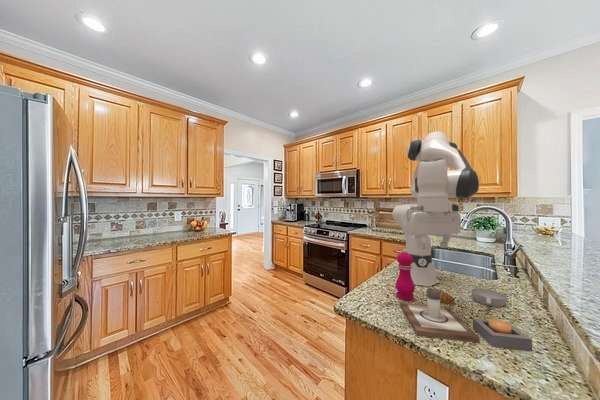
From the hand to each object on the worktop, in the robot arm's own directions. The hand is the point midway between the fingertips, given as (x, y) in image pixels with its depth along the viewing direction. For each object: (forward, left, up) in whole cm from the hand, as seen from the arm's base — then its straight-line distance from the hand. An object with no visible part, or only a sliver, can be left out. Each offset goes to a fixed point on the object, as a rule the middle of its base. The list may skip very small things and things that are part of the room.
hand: (432, 248), depth 71 cm
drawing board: (0, 0, -24) cm, 24 cm away
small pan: (-18, +26, -24) cm, 40 cm away
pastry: (-20, +9, -24) cm, 33 cm away
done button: (+6, +15, -22) cm, 27 cm away
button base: (+6, +15, -24) cm, 29 cm away
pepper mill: (-18, -4, -24) cm, 30 cm away
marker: (0, 0, -22) cm, 22 cm away
